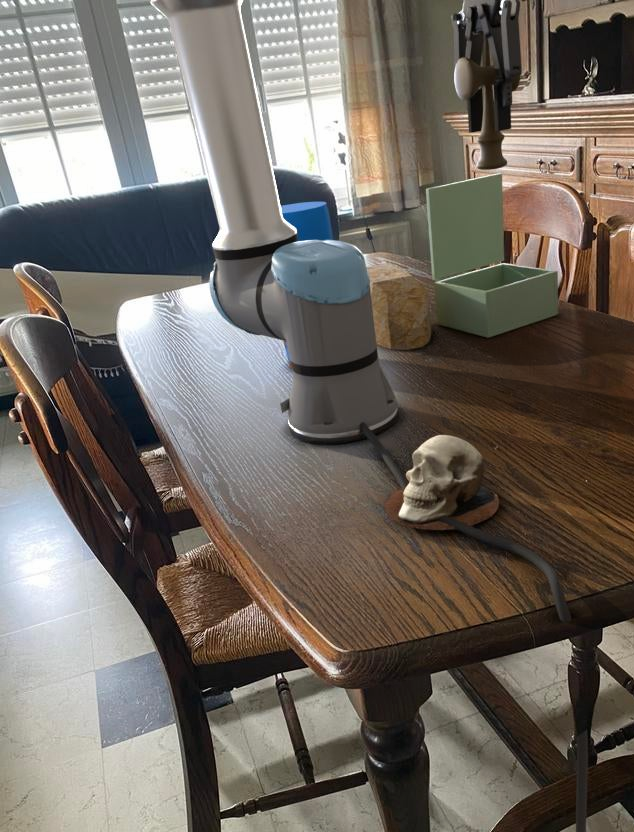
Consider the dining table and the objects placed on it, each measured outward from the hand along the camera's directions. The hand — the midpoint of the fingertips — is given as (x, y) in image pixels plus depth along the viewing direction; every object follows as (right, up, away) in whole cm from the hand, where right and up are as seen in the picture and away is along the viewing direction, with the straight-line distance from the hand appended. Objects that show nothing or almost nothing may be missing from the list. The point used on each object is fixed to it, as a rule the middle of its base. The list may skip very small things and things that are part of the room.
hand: (489, 130), depth 123 cm
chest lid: (-2, -11, +13) cm, 17 cm away
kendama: (+1, -5, +3) cm, 6 cm away
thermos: (-29, -37, +6) cm, 47 cm away
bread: (-17, -27, +22) cm, 38 cm away
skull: (-11, -62, -43) cm, 77 cm away
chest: (+3, -27, +15) cm, 31 cm away
